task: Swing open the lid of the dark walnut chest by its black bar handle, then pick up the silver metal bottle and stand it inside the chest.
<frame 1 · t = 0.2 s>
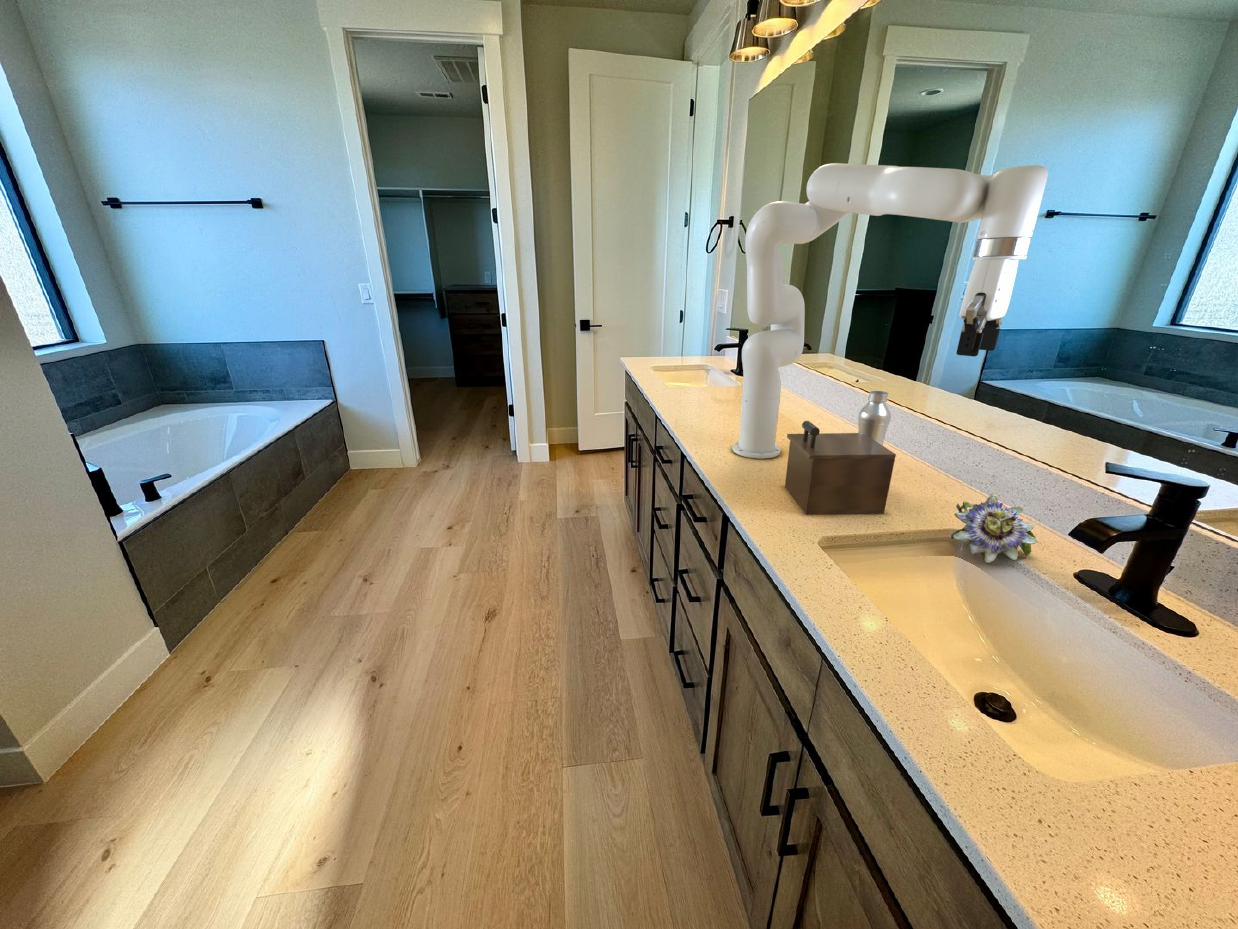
hand: (975, 352, 90), 31 cm above the worktop, tool pointing down, fingers open, 9 cm apart
silver metal bottle: (864, 476, 116), on the worktop
passion flower: (984, 551, 85), on the worktop
chest: (831, 499, 104), on the worktop
lid: (839, 435, 99), point 14 cm above the worktop, hinge at 0.0°
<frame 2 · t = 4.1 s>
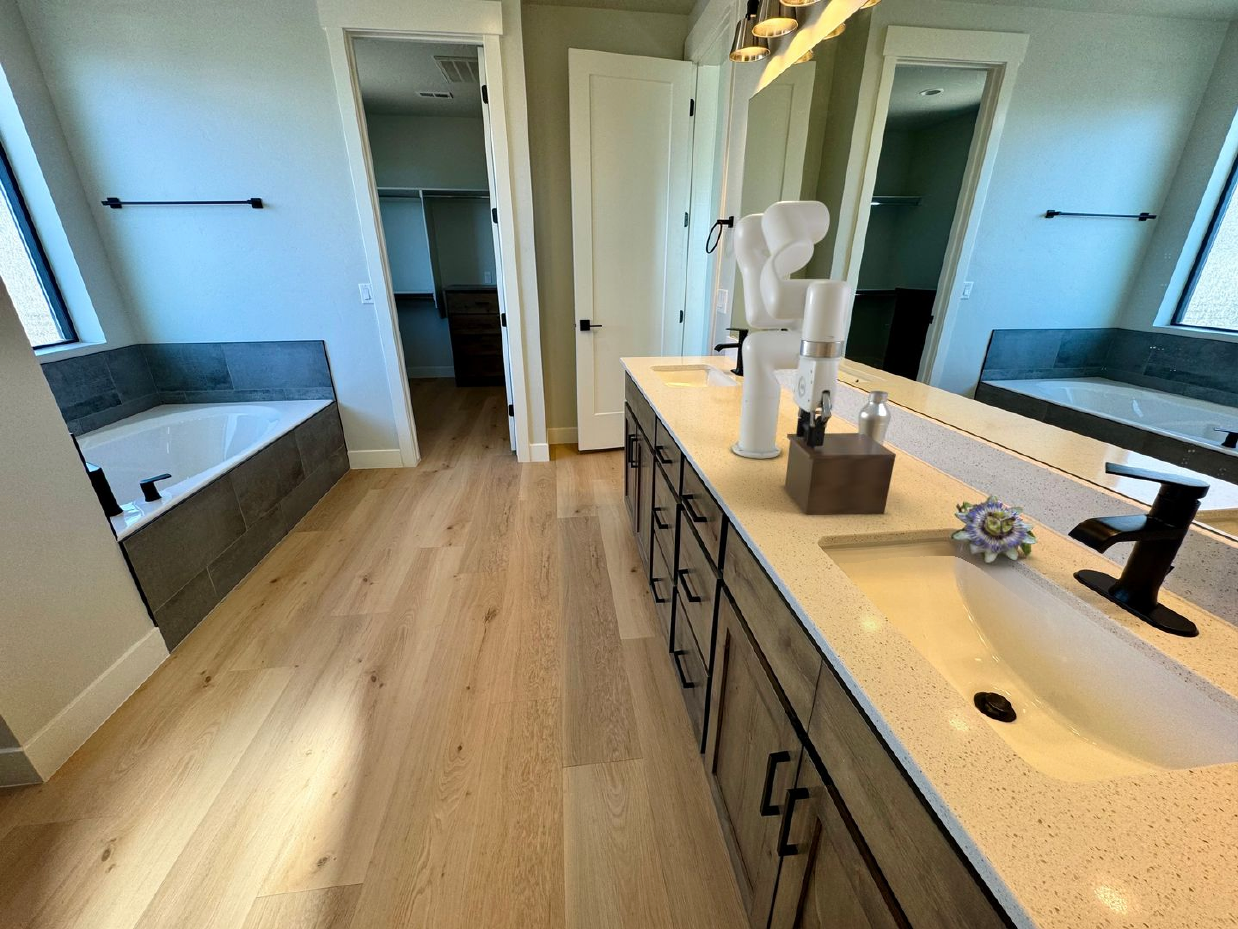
hand: (809, 440, 100), 13 cm above the worktop, tool pointing down, fingers closed on lid, 5 cm apart
lid: (839, 435, 99), point 14 cm above the worktop, hinge at 0.0°, touching gripper
everything else where it was.
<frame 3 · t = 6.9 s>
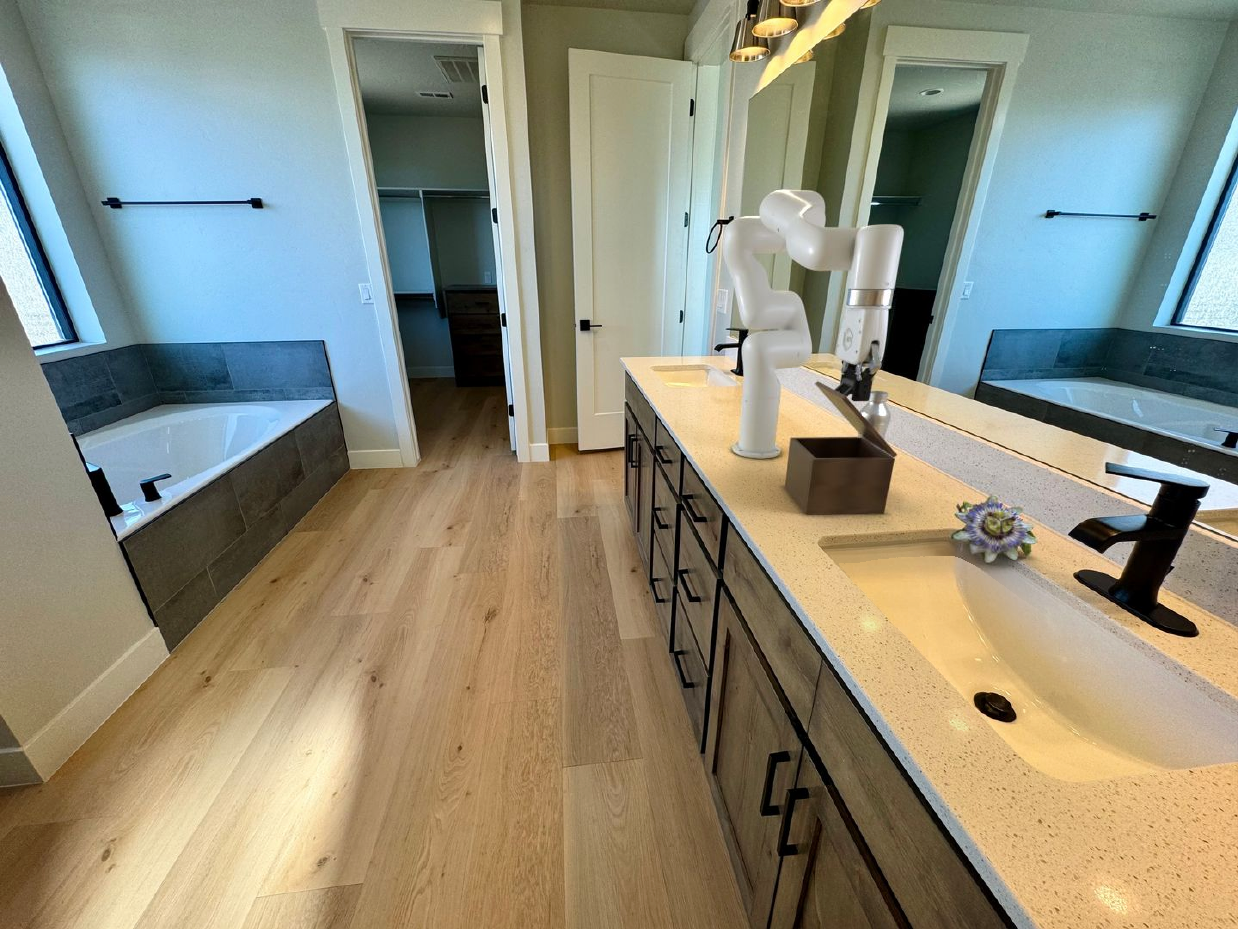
hand: (853, 396, 96), 22 cm above the worktop, tool pointing down, fingers closed on lid, 5 cm apart
lid: (862, 410, 97), point 20 cm above the worktop, hinge at 45.0°, touching gripper
everything else where it was.
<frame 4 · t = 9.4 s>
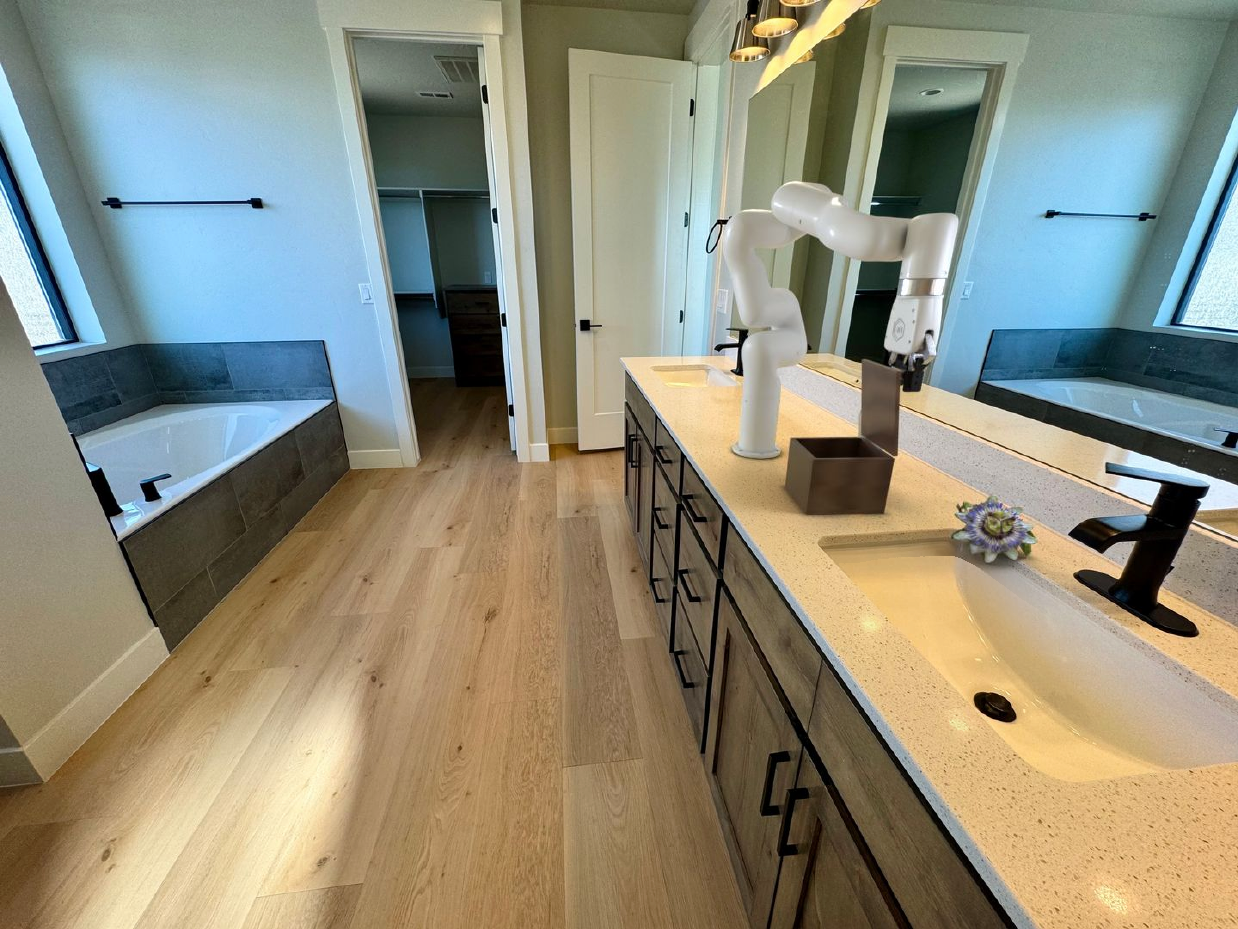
hand: (902, 387, 96), 24 cm above the worktop, tool pointing down, fingers closed on lid, 5 cm apart
lid: (889, 404, 97), point 21 cm above the worktop, hinge at 81.2°, touching gripper
everything else where it was.
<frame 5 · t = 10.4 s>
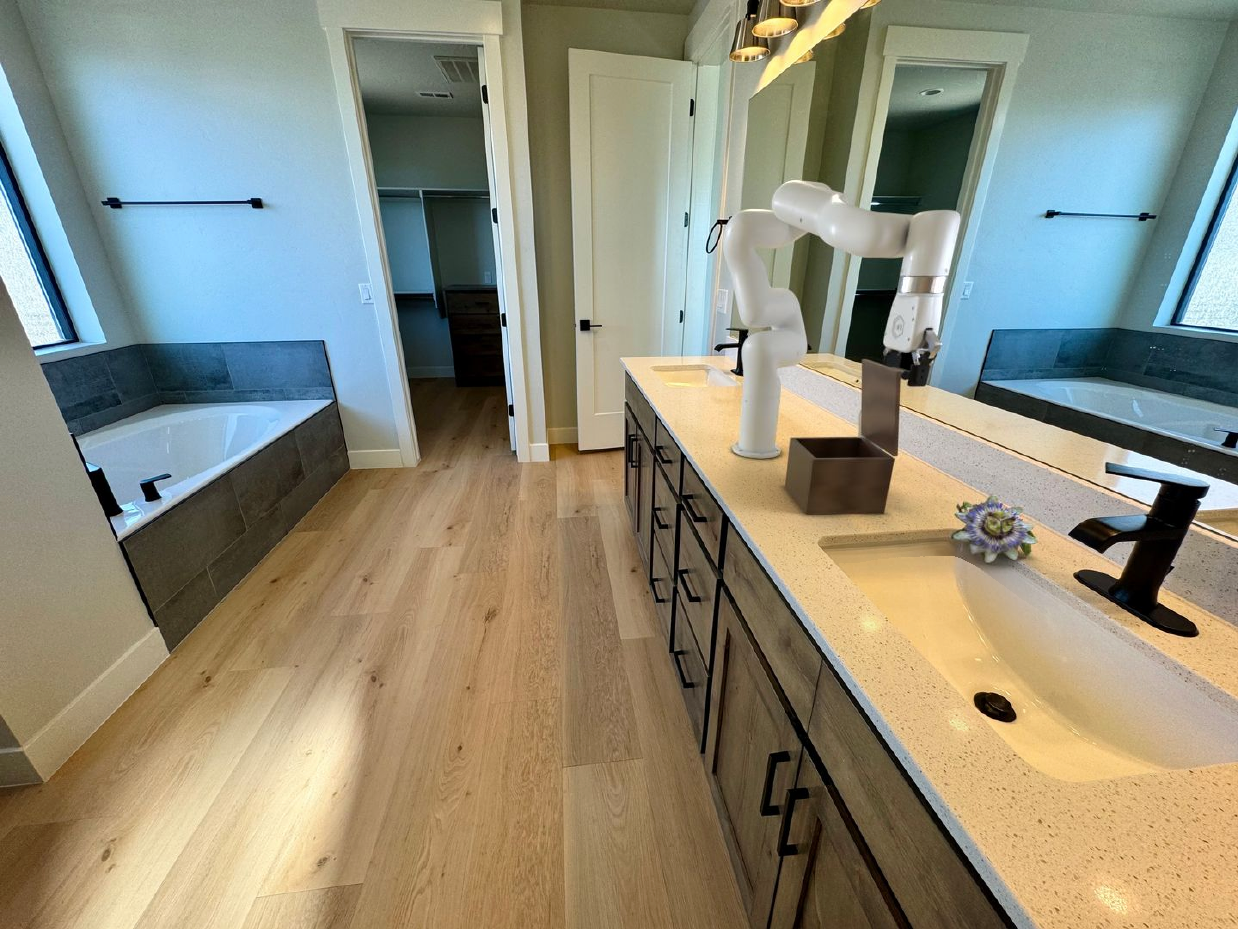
hand: (901, 380, 95), 25 cm above the worktop, tool pointing down, fingers open, 9 cm apart
lid: (890, 404, 97), point 21 cm above the worktop, hinge at 81.3°
everything else where it was.
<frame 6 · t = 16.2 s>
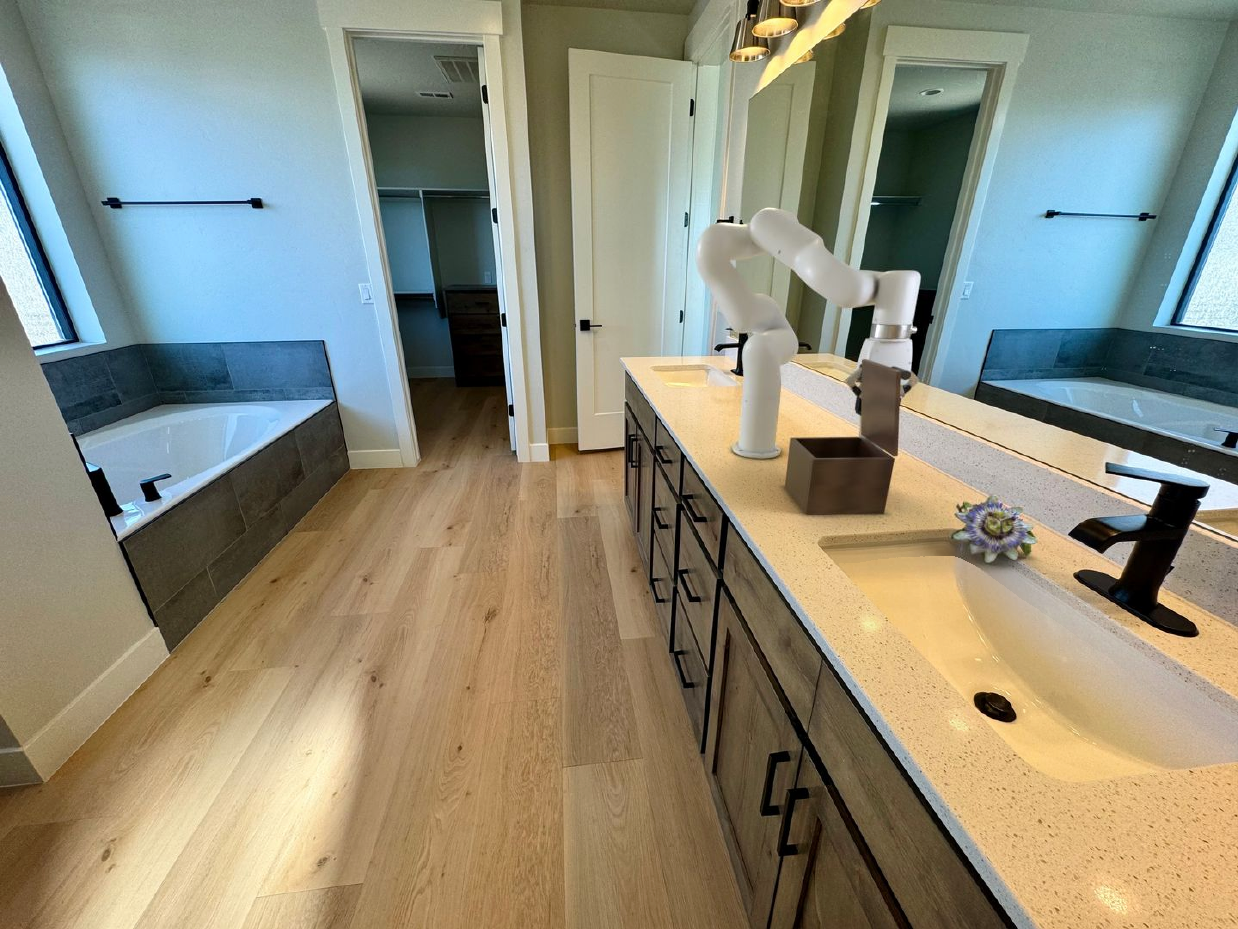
hand: (876, 413, 111), 15 cm above the worktop, tool pointing down, fingers closed on silver metal bottle, 6 cm apart
silver metal bottle: (864, 476, 116), on the worktop, touching gripper
everything else where it was.
when the fingers open (16 cm above the worktop, at t = 25.2 s): silver metal bottle stays where it is, resting on chest.
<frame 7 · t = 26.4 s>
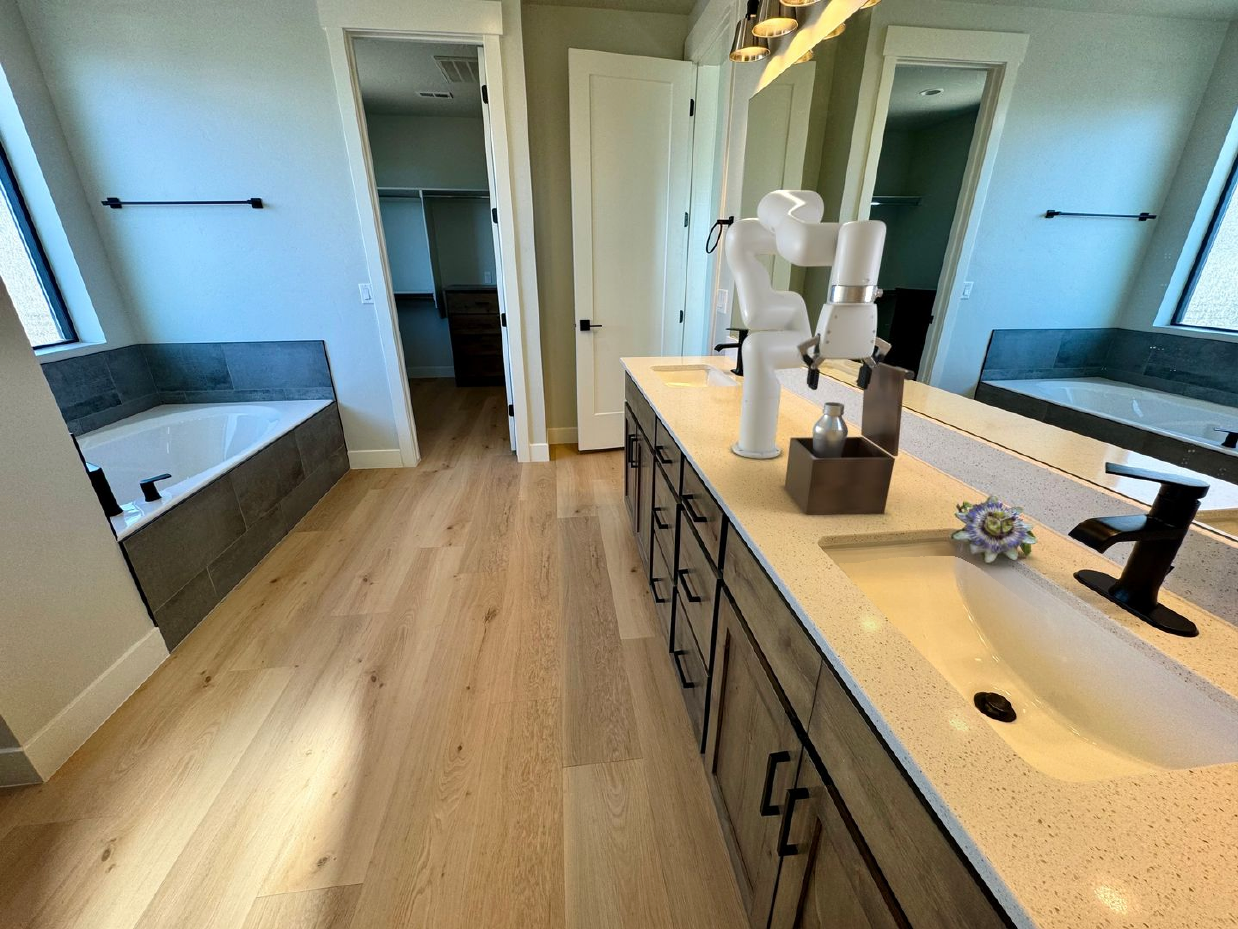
hand: (837, 388, 96), 24 cm above the worktop, tool pointing down, fingers open, 9 cm apart
silver metal bottle: (820, 497, 104), point 1 cm above the worktop, touching chest
lid: (891, 404, 97), point 21 cm above the worktop, hinge at 83.8°
everything else where it was.
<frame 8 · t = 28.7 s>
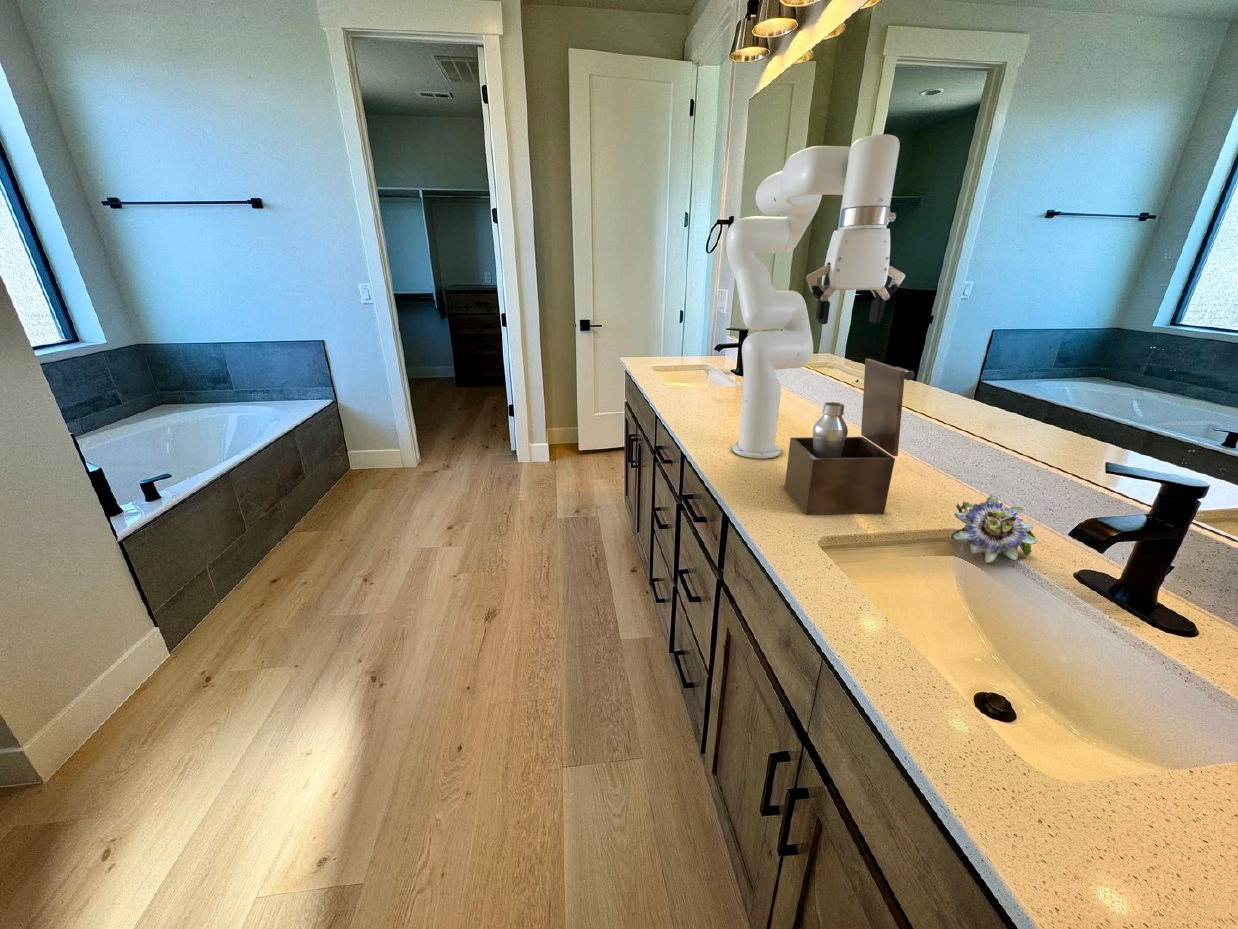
hand: (848, 323, 91), 36 cm above the worktop, tool pointing down, fingers open, 9 cm apart
nothing on the worktop moved.
at the end: lid at +84° (first picture: +0°); silver metal bottle inside the target area in the chest (2.3 cm from its centre), point 0.6 cm above the chest's base; silver metal bottle tilted 0° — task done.
